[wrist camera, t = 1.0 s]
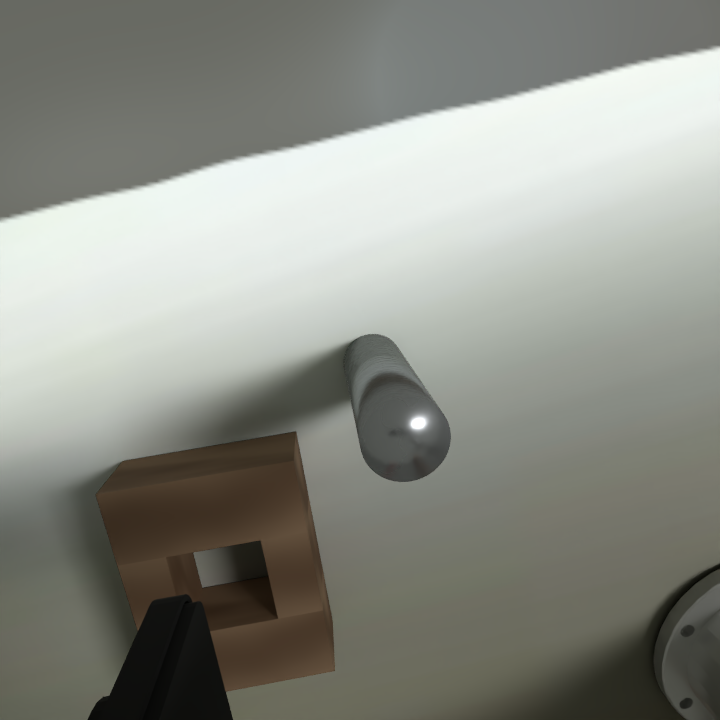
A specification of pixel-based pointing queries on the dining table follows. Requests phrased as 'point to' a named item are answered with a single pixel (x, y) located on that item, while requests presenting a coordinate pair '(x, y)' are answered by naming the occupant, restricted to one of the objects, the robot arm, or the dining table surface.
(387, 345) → the peg
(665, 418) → the dining table surface
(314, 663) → the hole block
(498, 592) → the dining table surface
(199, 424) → the dining table surface
